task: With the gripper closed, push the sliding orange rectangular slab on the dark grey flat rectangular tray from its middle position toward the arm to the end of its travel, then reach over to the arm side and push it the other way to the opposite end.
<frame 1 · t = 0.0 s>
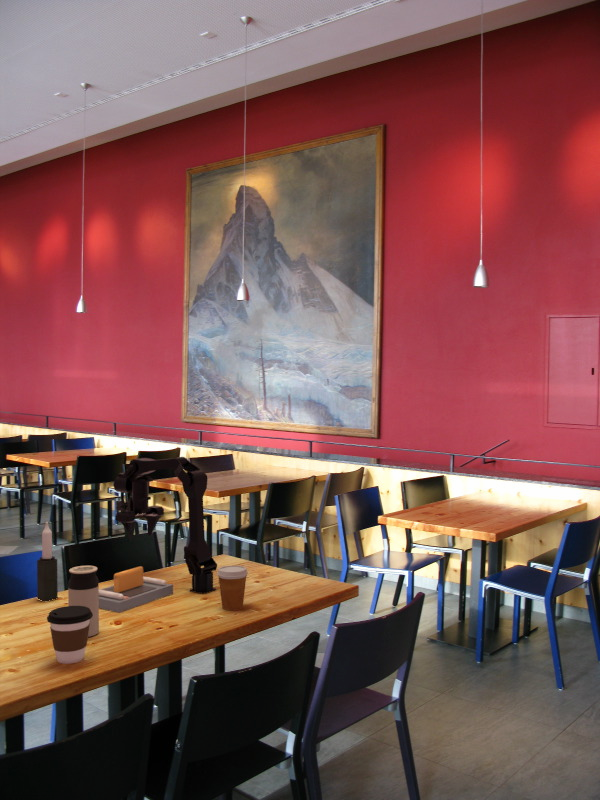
hand: (140, 537, 261), 15 cm above the table, tool pointing down, fingers open, 9 cm apart
grey flat rectangular tray: (128, 598, 237), on the table
coffee cup: (70, 660, 184), on the table
travel mug: (83, 634, 203), on the table
disposable coffee cup: (232, 608, 228), on the table
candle: (47, 600, 237), on the table
orange rectangular slab: (128, 578, 237), point 6 cm above the table, slide at 0.0 cm
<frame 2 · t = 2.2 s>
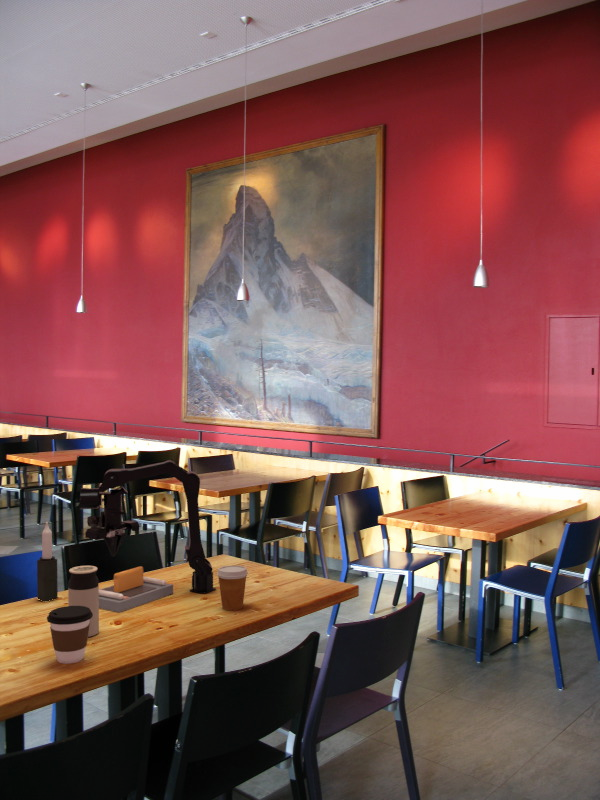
hand: (113, 556, 241), 13 cm above the table, tool pointing down, fingers closed
nothing on the table moved.
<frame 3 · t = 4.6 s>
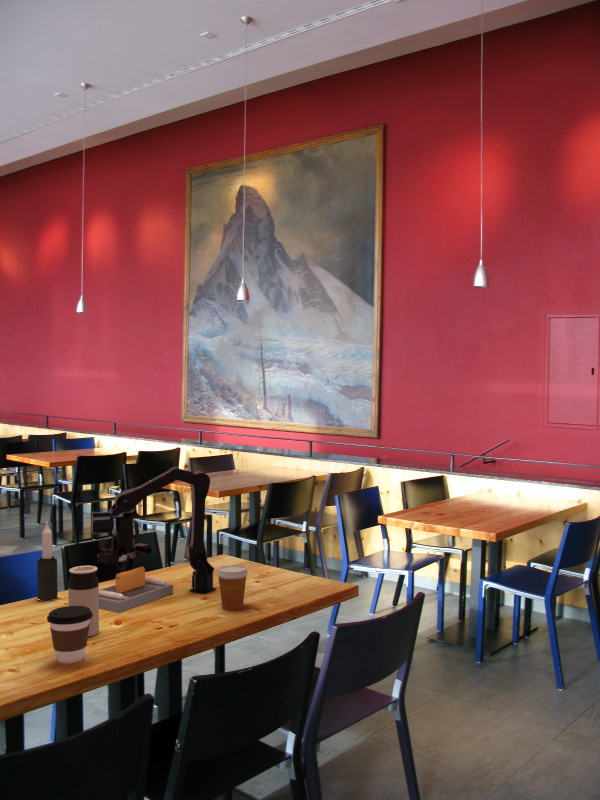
hand: (125, 579, 238), 6 cm above the table, tool pointing down, fingers closed, pressing on orange rectangular slab
orange rectangular slab: (130, 579, 237), point 6 cm above the table, slide at -0.8 cm, touching gripper
everything else where it was.
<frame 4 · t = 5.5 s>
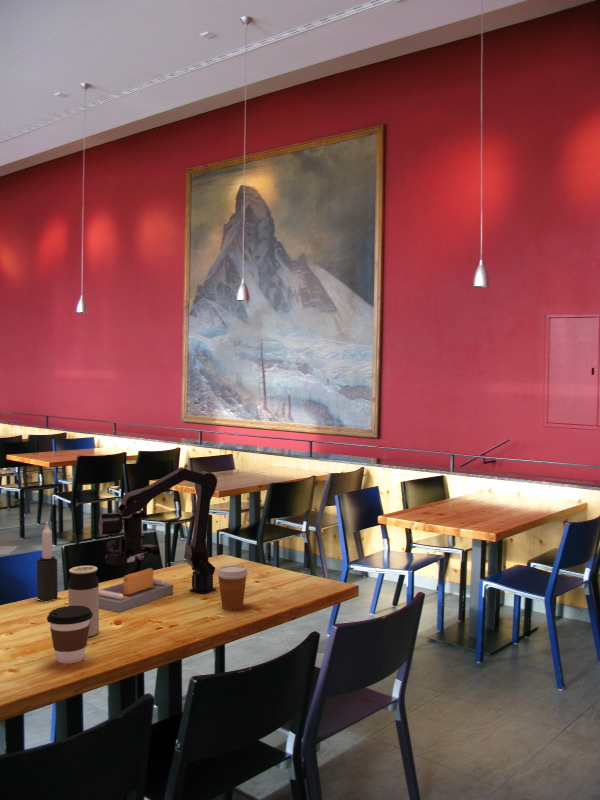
hand: (133, 581, 236), 6 cm above the table, tool pointing down, fingers closed, pressing on orange rectangular slab
orange rectangular slab: (138, 580, 235), point 6 cm above the table, slide at -4.3 cm, touching gripper
everything else where it was.
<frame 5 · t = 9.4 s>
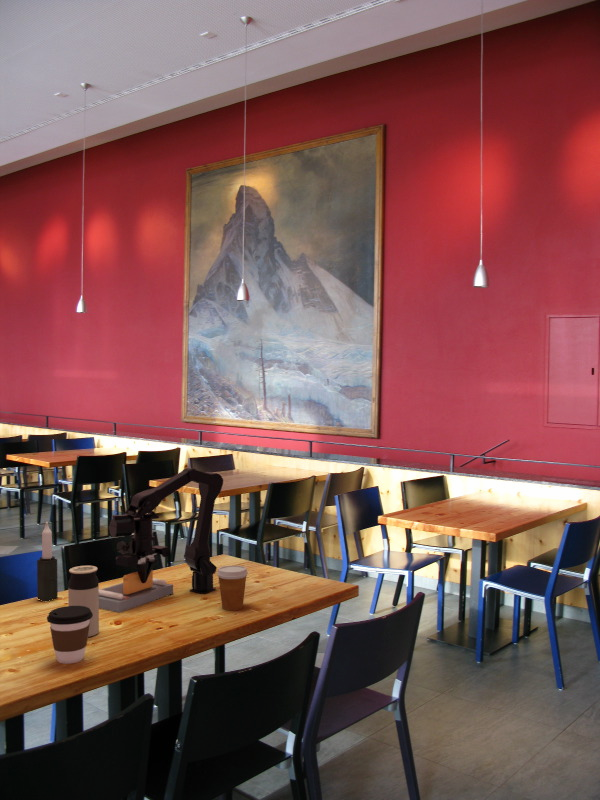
hand: (143, 583, 234), 6 cm above the table, tool pointing down, fingers closed
orange rectangular slab: (138, 580, 235), point 6 cm above the table, slide at -4.1 cm, touching gripper
everything else where it was.
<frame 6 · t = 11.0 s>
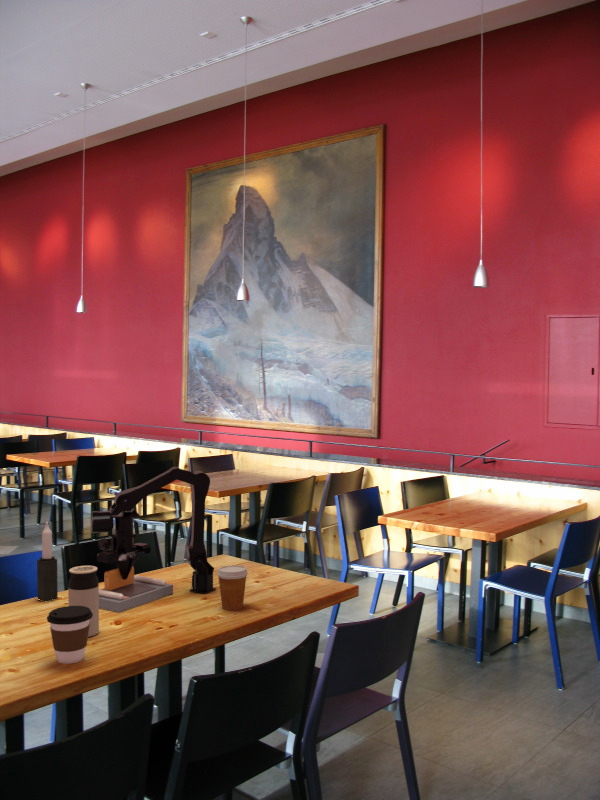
hand: (124, 579, 238), 6 cm above the table, tool pointing down, fingers closed, pressing on orange rectangular slab
orange rectangular slab: (119, 577, 239), point 6 cm above the table, slide at 4.2 cm, touching gripper
everything else where it was.
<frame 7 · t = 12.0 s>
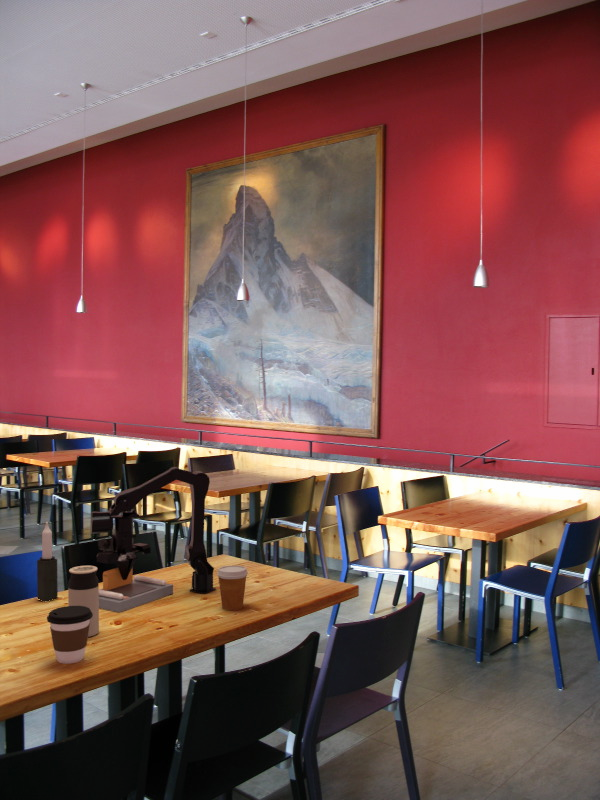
hand: (124, 579, 238), 6 cm above the table, tool pointing down, fingers closed
orange rectangular slab: (118, 576, 240), point 6 cm above the table, slide at 4.8 cm
everything else where it was.
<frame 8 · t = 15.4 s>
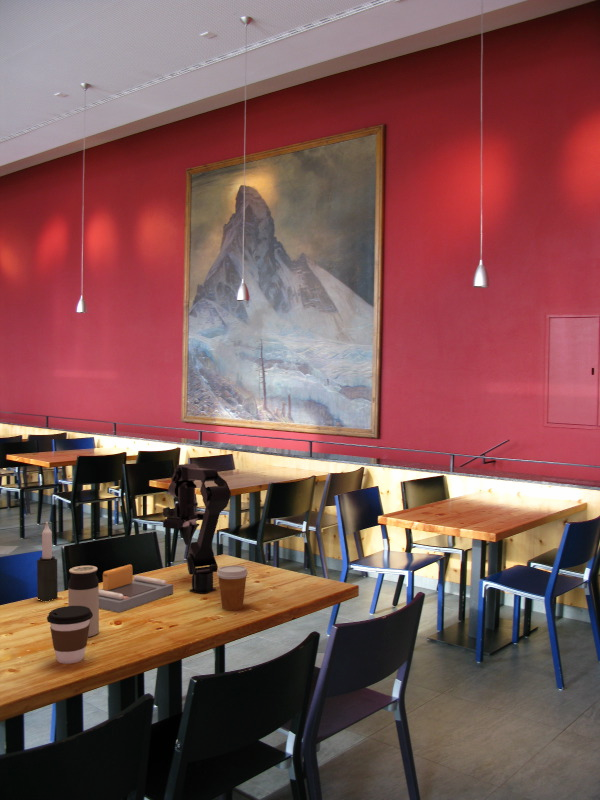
hand: (187, 544, 258), 13 cm above the table, tool pointing down, fingers closed
nothing on the table moved.
at the end: orange rectangular slab slide at 4.8 cm; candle moved 0.2 cm from its start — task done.
